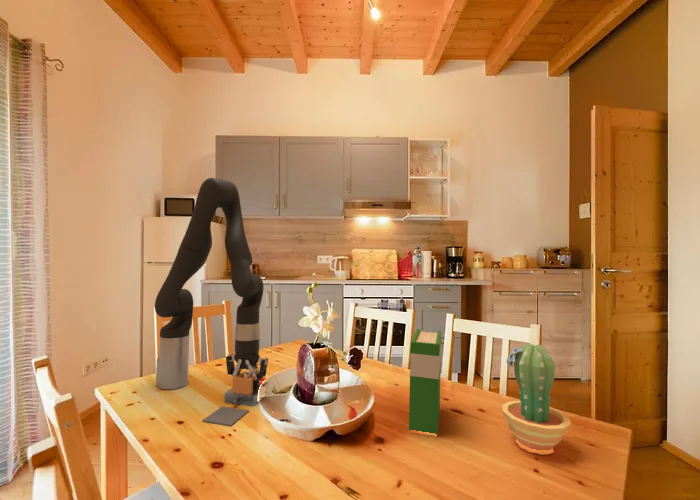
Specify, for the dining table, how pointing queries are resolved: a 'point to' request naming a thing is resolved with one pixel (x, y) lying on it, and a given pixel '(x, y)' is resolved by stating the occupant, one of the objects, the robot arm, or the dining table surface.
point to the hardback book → (425, 381)
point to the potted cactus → (534, 400)
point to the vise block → (242, 396)
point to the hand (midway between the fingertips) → (246, 389)
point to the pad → (225, 416)
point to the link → (242, 384)
